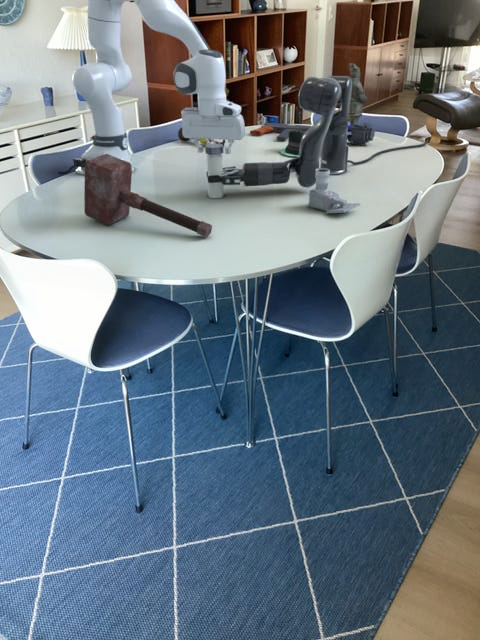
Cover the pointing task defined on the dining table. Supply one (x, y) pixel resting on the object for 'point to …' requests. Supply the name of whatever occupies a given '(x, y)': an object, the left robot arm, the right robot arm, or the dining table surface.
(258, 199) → the dining table surface
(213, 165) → the jar
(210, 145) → the lid
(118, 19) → the left robot arm
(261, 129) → the submachine gun
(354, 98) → the statue
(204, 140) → the figurine
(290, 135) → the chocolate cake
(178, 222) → the sledgehammer
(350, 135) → the toy
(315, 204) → the grey foot-shaped piece
